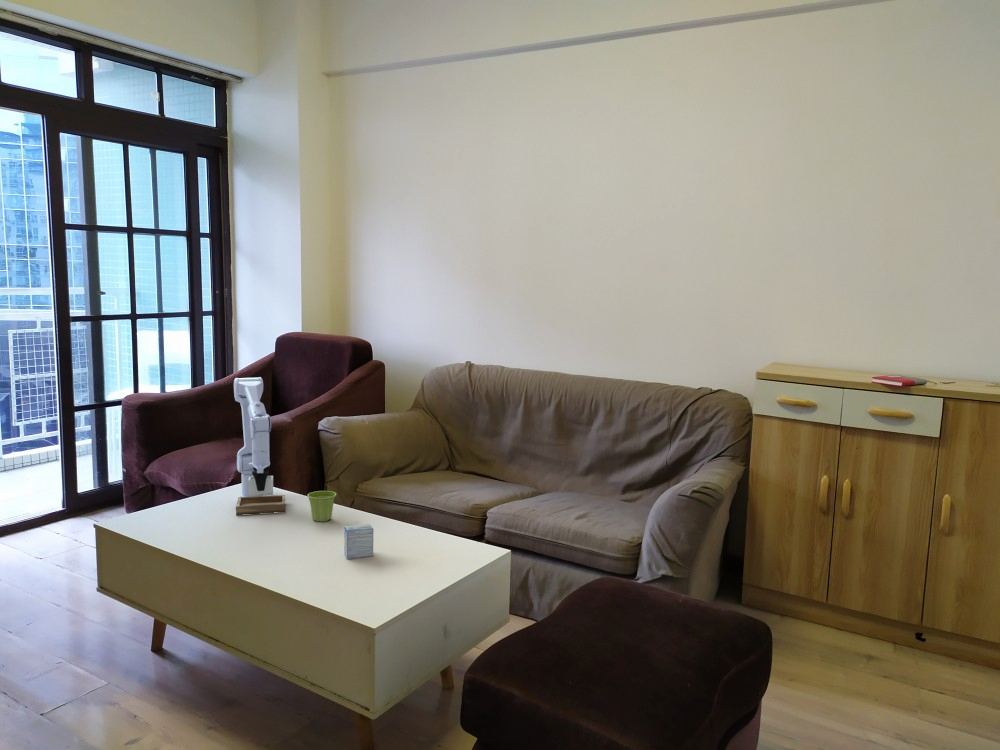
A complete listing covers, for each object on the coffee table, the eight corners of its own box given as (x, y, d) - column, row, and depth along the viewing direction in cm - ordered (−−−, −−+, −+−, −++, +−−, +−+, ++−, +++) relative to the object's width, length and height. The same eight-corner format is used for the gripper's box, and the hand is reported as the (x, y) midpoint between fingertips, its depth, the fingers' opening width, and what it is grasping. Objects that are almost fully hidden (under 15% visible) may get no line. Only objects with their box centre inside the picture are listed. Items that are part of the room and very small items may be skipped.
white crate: (249, 492, 259) (249, 476, 258) (273, 490, 261) (273, 475, 260) (248, 495, 254) (248, 480, 253) (272, 494, 256) (272, 479, 255)
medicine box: (370, 551, 219) (370, 523, 218) (373, 556, 215) (373, 527, 214) (343, 554, 216) (343, 525, 215) (346, 559, 212) (346, 530, 211)
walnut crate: (238, 505, 262) (238, 497, 261) (285, 502, 266) (285, 494, 266) (236, 515, 250) (235, 506, 250) (285, 512, 254) (285, 504, 254)
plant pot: (306, 516, 251) (306, 491, 250) (335, 514, 254) (335, 489, 253) (308, 524, 242) (308, 498, 241) (337, 522, 245) (337, 497, 244)
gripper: (249, 446, 262) (250, 483, 263) (247, 455, 248) (248, 494, 249) (270, 445, 263) (270, 483, 265) (269, 454, 250) (269, 493, 251)
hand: (261, 488), depth 257 cm, fingers closed on white crate, 5 cm apart
